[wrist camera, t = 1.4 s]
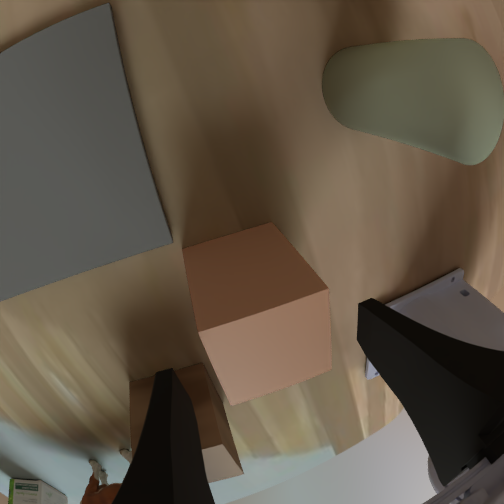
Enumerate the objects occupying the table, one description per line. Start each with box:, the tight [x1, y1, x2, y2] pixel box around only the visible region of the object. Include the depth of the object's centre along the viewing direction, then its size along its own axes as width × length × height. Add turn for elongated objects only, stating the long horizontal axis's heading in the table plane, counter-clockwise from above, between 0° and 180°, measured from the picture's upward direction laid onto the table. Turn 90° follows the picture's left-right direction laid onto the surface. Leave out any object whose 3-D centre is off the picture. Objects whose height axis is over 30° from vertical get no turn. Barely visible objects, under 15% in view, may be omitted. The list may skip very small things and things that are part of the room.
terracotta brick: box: [182, 222, 332, 406], centre depth 14 cm, size 4×4×6 cm
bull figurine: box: [80, 449, 132, 504], centre depth 19 cm, size 4×13×8 cm, turn 109°
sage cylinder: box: [322, 38, 504, 165], centre depth 10 cm, size 4×4×7 cm
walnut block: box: [130, 363, 244, 483], centre depth 17 cm, size 5×5×6 cm
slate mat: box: [0, 3, 173, 301], centre depth 11 cm, size 11×11×1 cm
